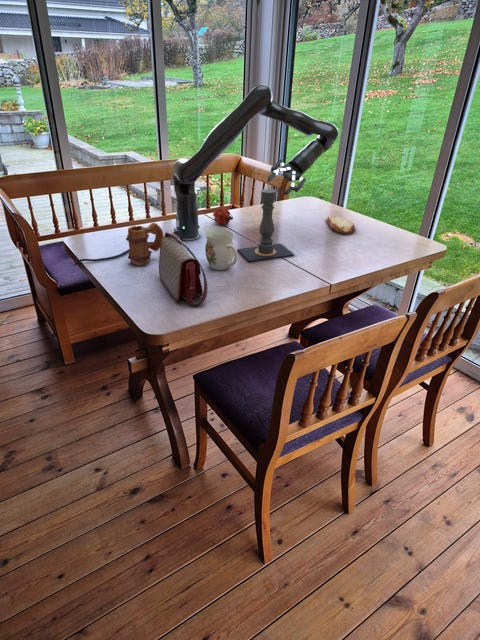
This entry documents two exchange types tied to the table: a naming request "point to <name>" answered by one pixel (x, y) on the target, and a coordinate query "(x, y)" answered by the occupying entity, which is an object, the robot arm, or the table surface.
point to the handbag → (180, 270)
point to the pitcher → (220, 248)
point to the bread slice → (340, 225)
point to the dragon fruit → (222, 215)
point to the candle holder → (267, 221)
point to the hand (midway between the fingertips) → (276, 187)
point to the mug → (143, 242)
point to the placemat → (254, 255)
